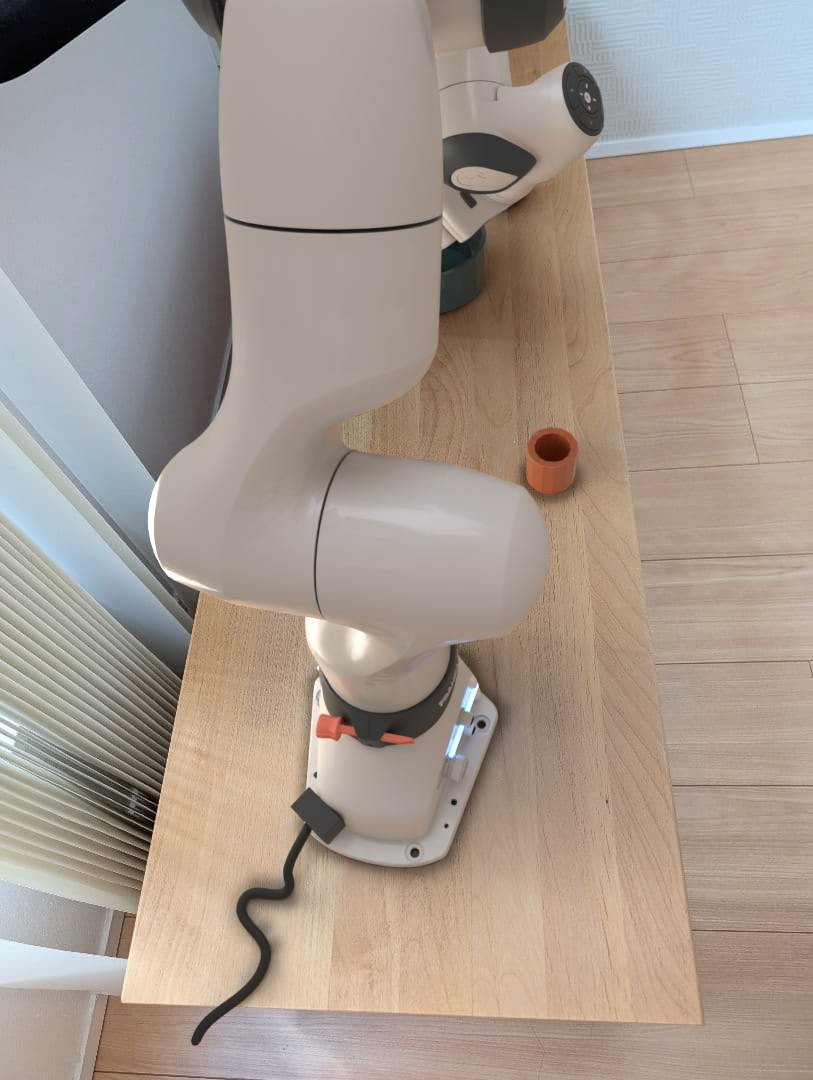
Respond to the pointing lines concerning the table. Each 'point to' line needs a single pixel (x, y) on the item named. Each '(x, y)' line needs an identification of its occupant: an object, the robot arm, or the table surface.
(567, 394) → the table surface
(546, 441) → the holder
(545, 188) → the table surface
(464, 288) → the bowl
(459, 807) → the robot arm
